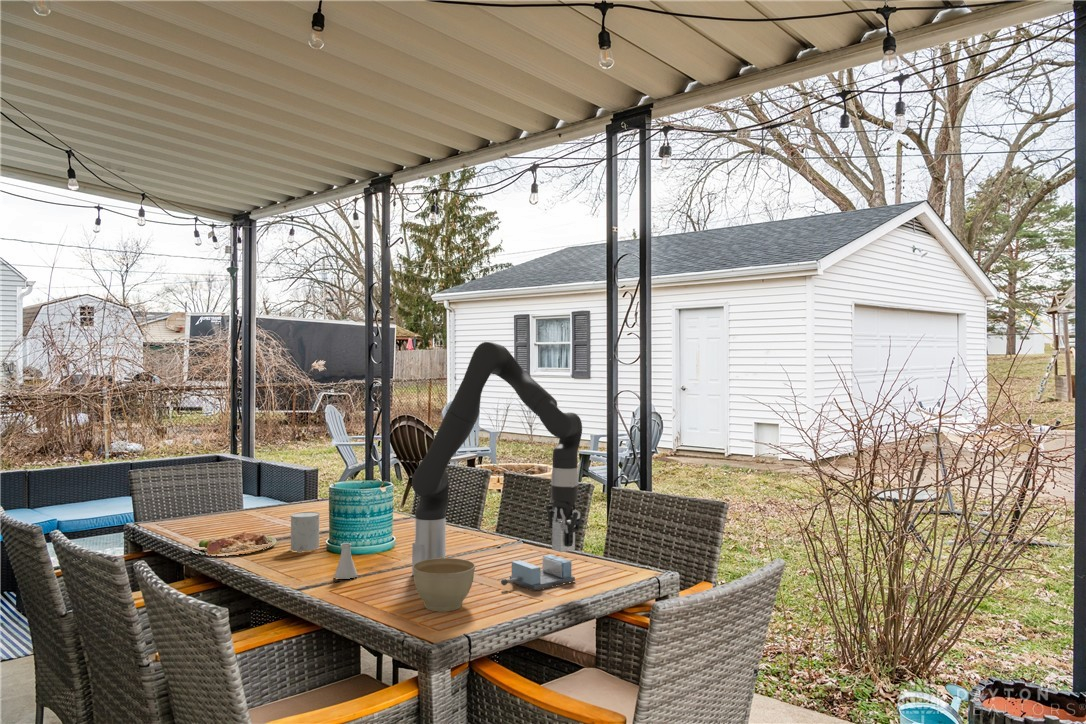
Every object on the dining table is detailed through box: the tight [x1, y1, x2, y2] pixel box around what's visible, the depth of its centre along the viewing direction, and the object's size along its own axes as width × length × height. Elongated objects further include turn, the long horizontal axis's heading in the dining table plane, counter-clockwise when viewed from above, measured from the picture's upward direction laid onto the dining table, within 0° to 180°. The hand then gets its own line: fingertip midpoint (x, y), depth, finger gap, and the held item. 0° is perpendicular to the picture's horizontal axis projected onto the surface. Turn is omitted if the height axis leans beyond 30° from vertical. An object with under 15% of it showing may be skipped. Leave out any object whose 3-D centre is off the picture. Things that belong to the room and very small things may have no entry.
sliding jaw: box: [500, 559, 542, 586], centre depth 206 cm, size 10×10×5 cm
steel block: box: [551, 520, 576, 553], centre depth 203 cm, size 5×4×8 cm
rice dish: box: [190, 531, 277, 554], centre depth 253 cm, size 28×28×5 cm
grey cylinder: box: [290, 511, 320, 552], centre depth 251 cm, size 10×10×12 cm
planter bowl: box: [413, 557, 476, 613], centre depth 189 cm, size 16×16×11 cm
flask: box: [333, 542, 358, 580], centre depth 216 cm, size 7×7×10 cm
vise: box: [509, 554, 576, 592], centre depth 212 cm, size 15×12×6 cm
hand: (563, 544), depth 203 cm, fingers closed on steel block, 4 cm apart
